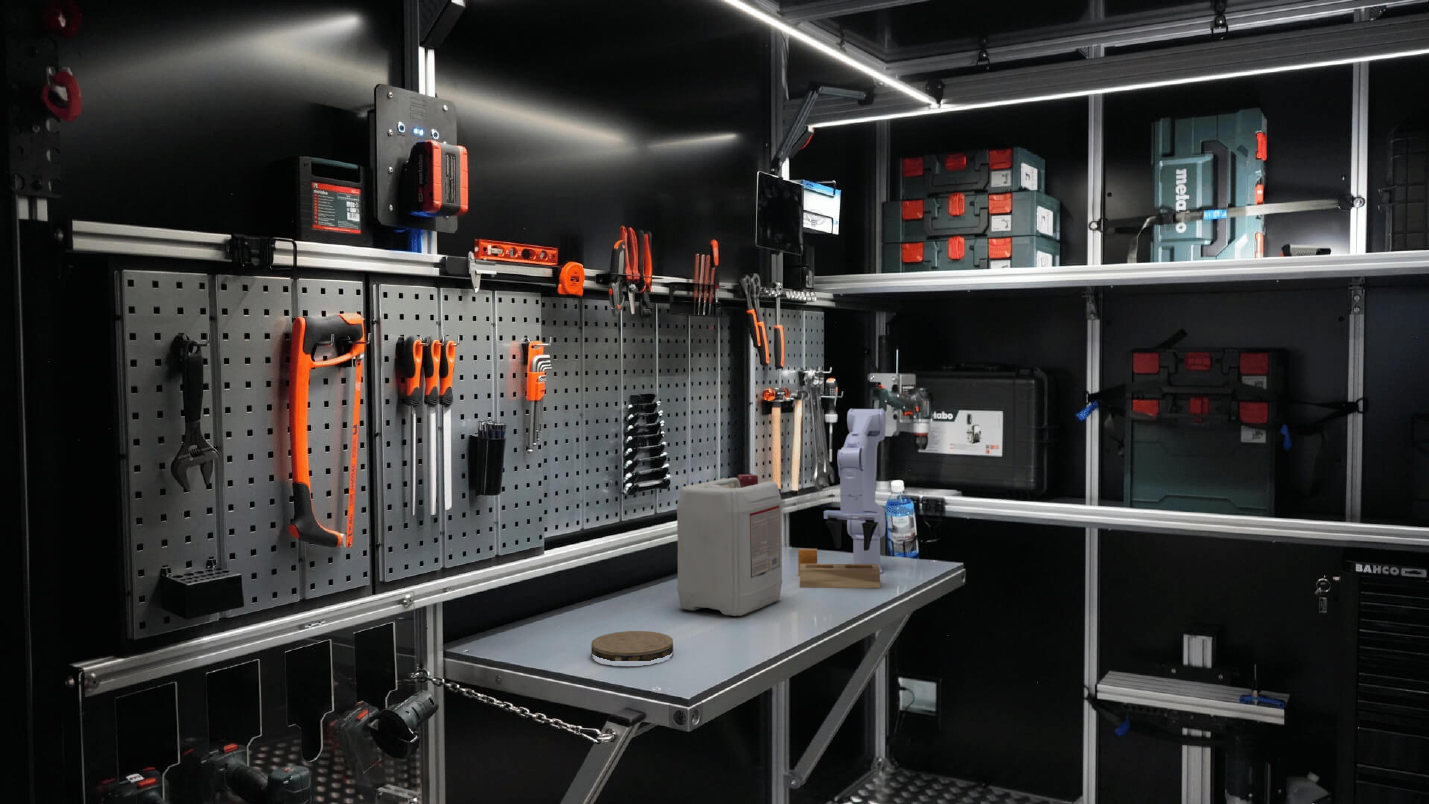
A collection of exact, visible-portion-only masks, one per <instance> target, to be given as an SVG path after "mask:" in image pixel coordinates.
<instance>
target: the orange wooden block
mask: <svg viewBox="0 0 1429 804" xmlns="http://www.w3.org/2000/svg"><path fill="white" fill-rule="evenodd" d="M797 549H798V550H797V551H798V552H797V555H798V559H797V561H798V562H797V563H798V564H797V568H798V575H797V576H798V577H800V564H818V548H797Z"/></svg>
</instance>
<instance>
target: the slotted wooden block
mask: <svg viewBox="0 0 1429 804" xmlns="http://www.w3.org/2000/svg"><path fill="white" fill-rule="evenodd" d="M799 588H813V589H814V588H818V589H819V588H826V589H827V588H829V589H830V588H831V589H832V588H834V589H836V588H838V589H839V588H842V589H849V588H850V589H852V588H853V589H854V588H855V589H856V588H857V589H881V573H880V569H879V566H878V564H853V563H817V564H800V576H799Z"/></svg>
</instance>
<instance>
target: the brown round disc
mask: <svg viewBox="0 0 1429 804" xmlns="http://www.w3.org/2000/svg"><path fill="white" fill-rule="evenodd" d="M672 652H673V653H674V638H673V637H671V636H670V635H668V634H664V633H662V632H655V631H649V630H648V631H647V630H627V631H620V632H619V631H617V632H613V633H612V632H611V633H607V634H603V635H601V636H598V637H596V638H594V639H593V640H592V642H591V655H592V654H593V655H595V656H597V657H599V658H603V659H607V660H610V661H651V660H654V659H657V658H663V657H665V656H667V655H670V654H671V653H672Z"/></svg>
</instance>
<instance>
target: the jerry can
mask: <svg viewBox="0 0 1429 804" xmlns="http://www.w3.org/2000/svg"><path fill="white" fill-rule="evenodd" d="M778 485H779V484H778V483H776V481H774V480H768V481H764V482H759V478H758V475H757V474H738V475H737V477H729V478H725V477H722V478H720V479H717V480H712V481H711V480H709V481H707V482H706V481H705V482H702V483H695V484H687V485H686V486H682V487H681V488H680V491H679V496H678V500H677V504H676V514H677V515H676V517H677V526H676V529H677V533H676V534H677V588H676V590H677V595H678V599H679V604H680V605H679V606H680V607H681V609H683V610H686V611H692V612H693V611H698V610H699V609H705V608H708V609H710V610H718V611H720V612H721V614H723V615H724V616H732V617H741V616H744V615H747V614H749V613H752V612H755V611H756V610H759V609H761V608H763V607H764V608H765V607H767V606H768V605H771V604H772V603H775V602H777V601H779V600H780V597H781V592H782V585H783V564H782V559H783V553H782V551H783V544H782V543H783V542H782V541H783V539H782V537H783V536H782V533H783V531H782V529H783V528H782V527H783V526H782V525H783V521H782V518H783V517H782V513H783V512H782V511H783V510H782V508H783V507H782V504H783V500H782V497H781V493H780V490H779V486H778Z"/></svg>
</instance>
